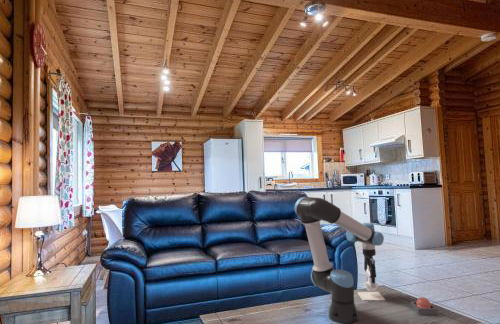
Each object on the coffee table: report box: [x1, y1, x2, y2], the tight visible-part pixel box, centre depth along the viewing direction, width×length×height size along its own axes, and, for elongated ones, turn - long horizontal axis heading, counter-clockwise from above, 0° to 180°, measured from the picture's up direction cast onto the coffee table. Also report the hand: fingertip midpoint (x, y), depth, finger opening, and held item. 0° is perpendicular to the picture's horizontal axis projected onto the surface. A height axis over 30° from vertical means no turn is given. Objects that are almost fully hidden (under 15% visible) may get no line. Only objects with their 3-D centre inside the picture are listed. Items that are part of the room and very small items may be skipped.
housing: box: [409, 301, 439, 316], centre depth 178 cm, size 10×10×3 cm
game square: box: [357, 291, 386, 302], centre depth 200 cm, size 13×13×1 cm
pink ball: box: [415, 296, 432, 308], centre depth 178 cm, size 7×7×7 cm
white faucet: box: [362, 265, 380, 292], centre depth 200 cm, size 7×9×15 cm
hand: (370, 285), depth 200 cm, fingers closed on white faucet, 9 cm apart
